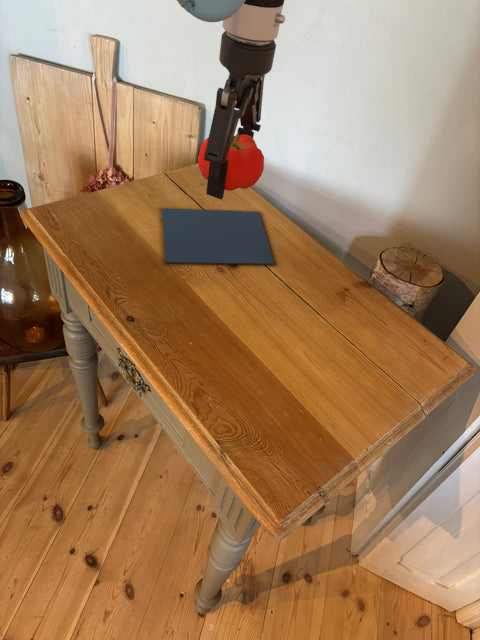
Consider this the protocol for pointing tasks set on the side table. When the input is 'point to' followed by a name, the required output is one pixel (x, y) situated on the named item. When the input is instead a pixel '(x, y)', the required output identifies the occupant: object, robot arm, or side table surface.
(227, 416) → the side table surface
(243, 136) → the tomato
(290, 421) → the side table surface
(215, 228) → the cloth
